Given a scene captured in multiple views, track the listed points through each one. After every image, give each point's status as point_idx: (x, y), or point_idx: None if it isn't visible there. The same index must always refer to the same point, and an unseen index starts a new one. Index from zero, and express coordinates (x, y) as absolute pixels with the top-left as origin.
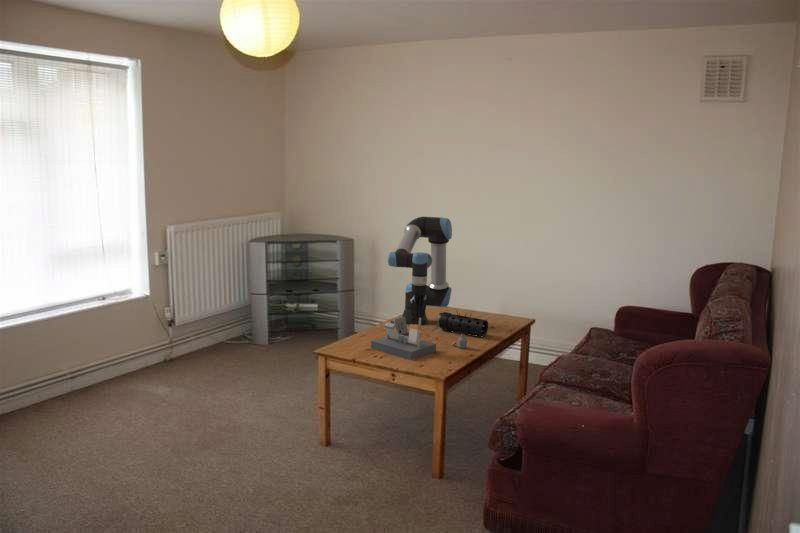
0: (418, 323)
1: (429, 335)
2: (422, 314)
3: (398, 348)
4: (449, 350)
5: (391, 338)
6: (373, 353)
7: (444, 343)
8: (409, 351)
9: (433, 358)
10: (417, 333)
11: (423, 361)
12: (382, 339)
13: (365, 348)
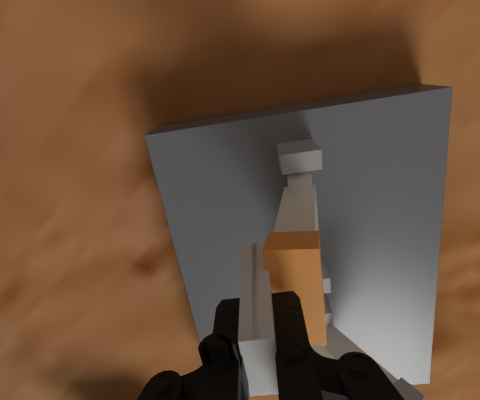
0: (271, 298)
1: (19, 344)
2: (198, 389)
3: (442, 202)
4: (65, 93)
5: None
6: (469, 291)
7: (16, 214)
8: (447, 105)
9: (273, 17)
10: (309, 215)
11: (380, 5)
12: None
13: None
